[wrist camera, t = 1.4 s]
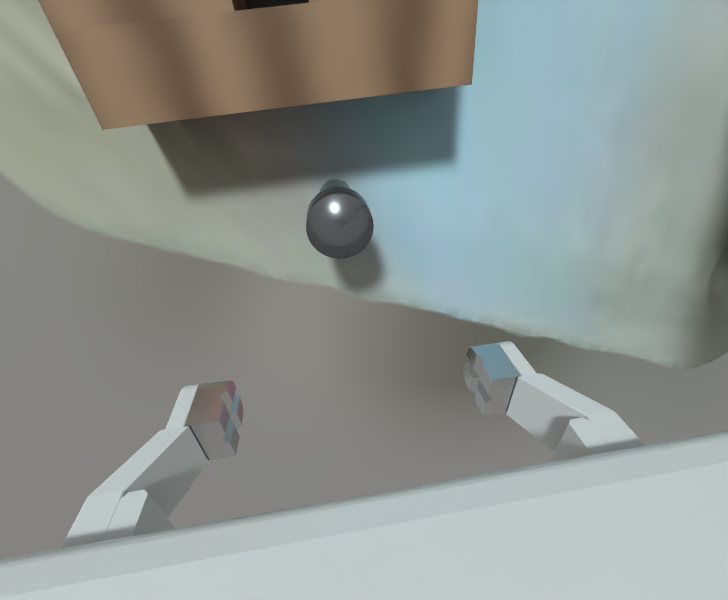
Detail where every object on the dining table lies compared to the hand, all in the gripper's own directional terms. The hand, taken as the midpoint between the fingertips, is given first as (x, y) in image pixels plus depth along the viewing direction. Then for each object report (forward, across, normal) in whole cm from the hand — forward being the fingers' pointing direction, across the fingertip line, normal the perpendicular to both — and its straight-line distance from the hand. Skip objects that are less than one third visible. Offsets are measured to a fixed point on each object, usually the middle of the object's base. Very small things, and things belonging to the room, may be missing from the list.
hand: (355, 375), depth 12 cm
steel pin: (+23, -1, +1) cm, 23 cm away
